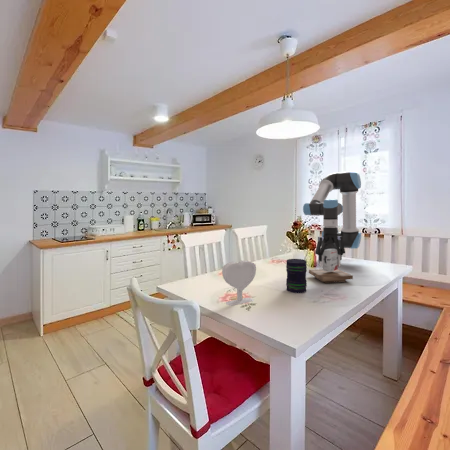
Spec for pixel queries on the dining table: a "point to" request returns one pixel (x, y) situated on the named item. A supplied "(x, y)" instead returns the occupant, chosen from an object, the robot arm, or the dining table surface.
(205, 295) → the dining table surface
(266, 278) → the dining table surface
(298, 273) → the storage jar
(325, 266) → the ink box
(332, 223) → the robot arm
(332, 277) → the walnut stand
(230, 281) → the heart sculpture
